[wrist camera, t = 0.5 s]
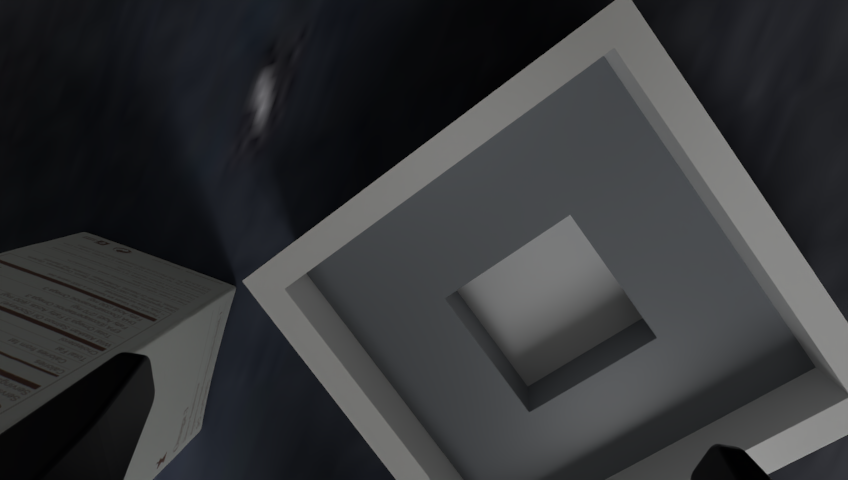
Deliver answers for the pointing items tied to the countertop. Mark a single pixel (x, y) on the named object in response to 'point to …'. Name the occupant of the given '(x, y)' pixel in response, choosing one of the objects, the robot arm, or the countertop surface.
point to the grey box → (567, 287)
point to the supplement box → (109, 332)
